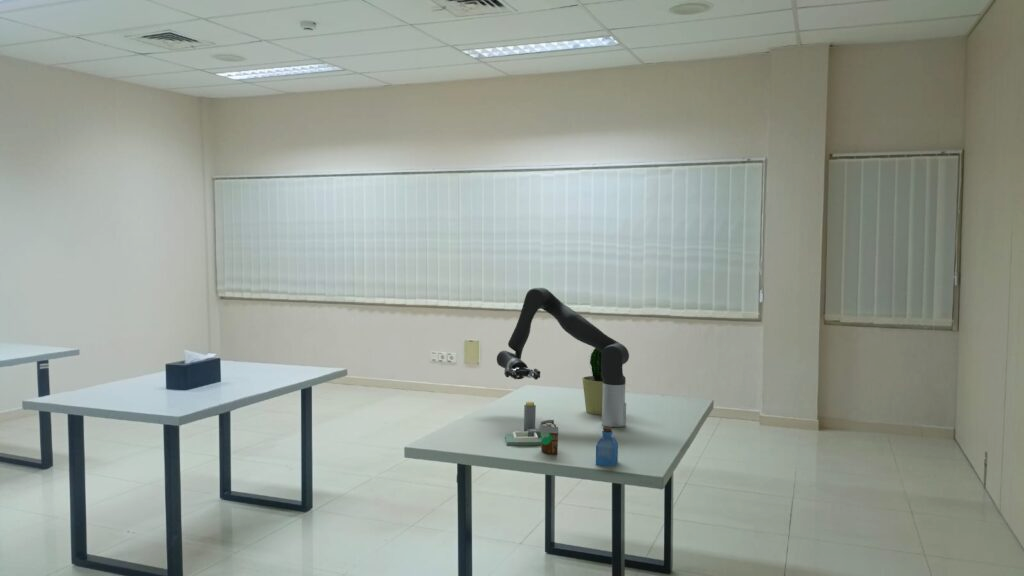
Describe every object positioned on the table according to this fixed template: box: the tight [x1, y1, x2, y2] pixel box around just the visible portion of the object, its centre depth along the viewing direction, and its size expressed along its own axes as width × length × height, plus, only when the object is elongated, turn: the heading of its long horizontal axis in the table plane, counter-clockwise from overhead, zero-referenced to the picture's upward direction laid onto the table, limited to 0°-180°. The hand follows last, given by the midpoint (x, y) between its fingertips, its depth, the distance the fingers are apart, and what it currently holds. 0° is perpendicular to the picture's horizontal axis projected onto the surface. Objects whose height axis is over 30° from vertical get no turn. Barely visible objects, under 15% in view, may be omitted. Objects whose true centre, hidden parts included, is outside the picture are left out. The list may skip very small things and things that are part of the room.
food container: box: [538, 419, 559, 456], centre depth 261 cm, size 12×6×10 cm, turn 5°
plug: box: [523, 401, 537, 432], centre depth 285 cm, size 4×4×12 cm
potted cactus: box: [582, 348, 603, 415], centre depth 326 cm, size 15×15×30 cm
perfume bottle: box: [595, 426, 619, 467], centre depth 247 cm, size 6×6×12 cm
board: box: [504, 428, 541, 446], centre depth 274 cm, size 14×12×3 cm
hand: (526, 377), depth 295 cm, fingers open, 8 cm apart
